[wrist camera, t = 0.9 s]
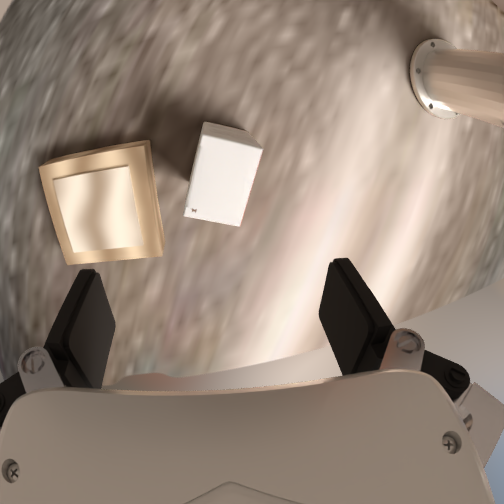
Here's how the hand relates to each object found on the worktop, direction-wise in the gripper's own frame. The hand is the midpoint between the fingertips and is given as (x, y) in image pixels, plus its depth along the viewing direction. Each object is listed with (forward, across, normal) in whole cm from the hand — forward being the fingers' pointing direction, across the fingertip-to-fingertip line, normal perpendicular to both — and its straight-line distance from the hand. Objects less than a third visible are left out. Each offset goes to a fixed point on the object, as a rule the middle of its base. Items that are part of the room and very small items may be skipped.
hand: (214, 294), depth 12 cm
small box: (+27, -1, +1) cm, 27 cm away
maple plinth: (+26, +14, +6) cm, 30 cm away
